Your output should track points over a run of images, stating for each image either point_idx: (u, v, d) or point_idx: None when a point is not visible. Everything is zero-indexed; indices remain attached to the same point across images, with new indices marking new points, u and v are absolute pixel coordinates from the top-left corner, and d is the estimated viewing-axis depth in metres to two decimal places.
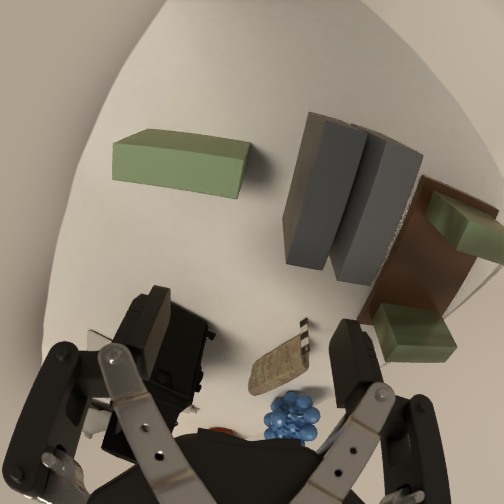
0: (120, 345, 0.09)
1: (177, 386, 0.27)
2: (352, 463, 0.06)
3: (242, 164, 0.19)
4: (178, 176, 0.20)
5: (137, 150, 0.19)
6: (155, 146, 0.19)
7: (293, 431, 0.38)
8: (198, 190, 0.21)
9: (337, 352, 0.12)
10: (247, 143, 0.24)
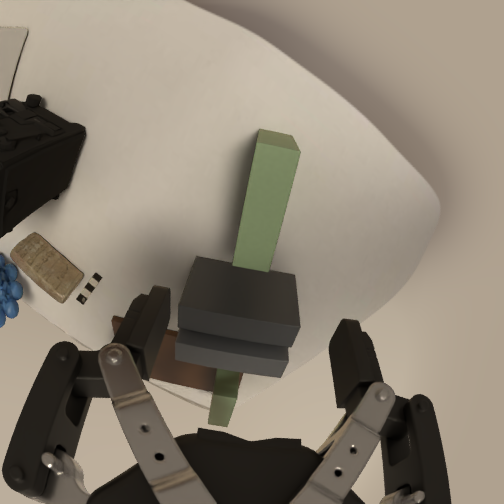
0: (120, 345, 0.09)
1: (7, 219, 0.17)
2: (352, 463, 0.06)
3: (264, 271, 0.24)
4: (255, 218, 0.21)
5: (287, 179, 0.19)
6: (288, 197, 0.20)
7: None
8: (240, 235, 0.22)
9: (337, 352, 0.12)
10: None
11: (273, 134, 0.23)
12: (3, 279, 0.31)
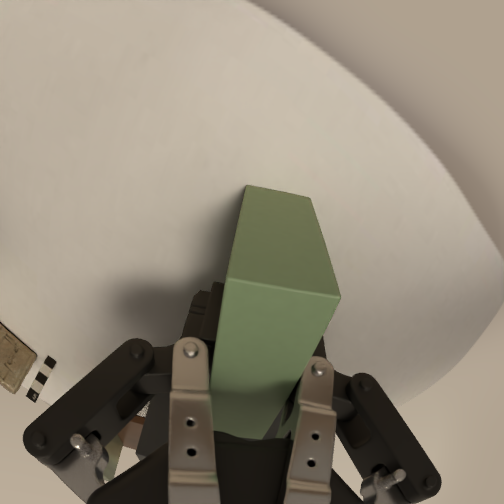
0: (194, 339, 0.10)
1: None
2: (320, 449, 0.06)
3: (255, 438, 0.12)
4: (234, 396, 0.10)
5: (303, 348, 0.08)
6: None
7: None
8: None
9: None
10: None
11: (273, 205, 0.11)
12: None
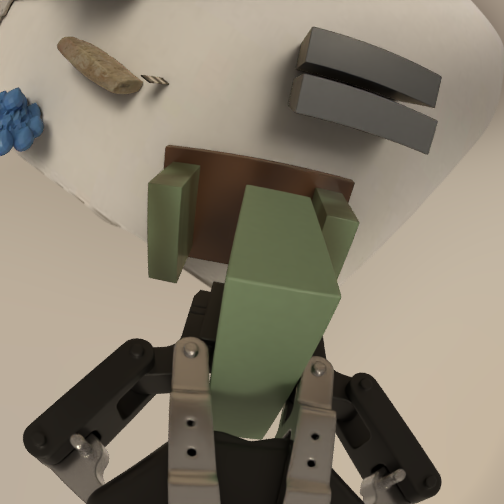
0: (195, 339, 0.10)
1: None
2: (320, 449, 0.06)
3: (255, 438, 0.12)
4: (234, 396, 0.10)
5: (303, 348, 0.08)
6: None
7: None
8: None
9: None
10: None
11: (273, 205, 0.11)
12: (23, 109, 0.22)
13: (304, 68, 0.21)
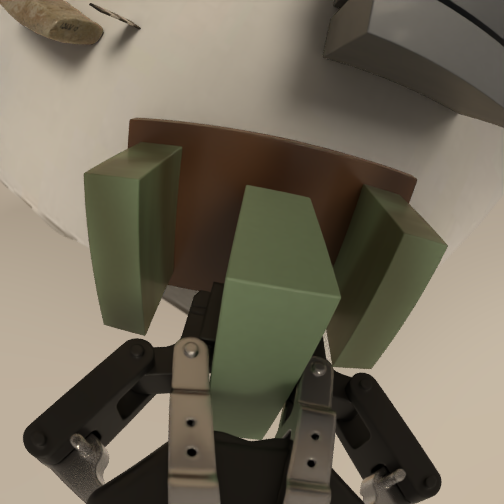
0: (195, 339, 0.10)
1: None
2: (320, 449, 0.06)
3: (255, 438, 0.12)
4: (234, 396, 0.10)
5: (303, 349, 0.08)
6: None
7: None
8: None
9: None
10: None
11: (273, 205, 0.11)
12: None
13: None
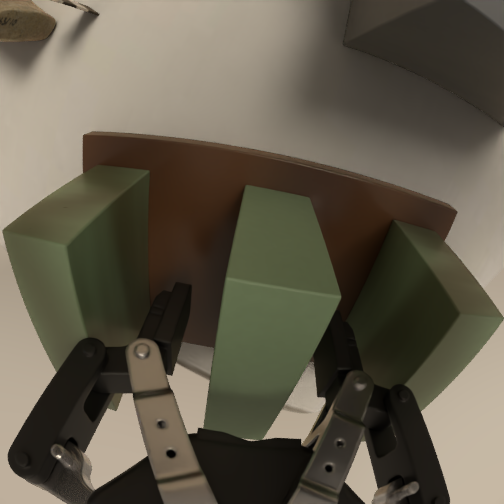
0: (147, 340, 0.09)
1: None
2: (341, 456, 0.06)
3: (255, 439, 0.12)
4: (234, 396, 0.10)
5: (303, 349, 0.08)
6: None
7: None
8: (209, 410, 0.11)
9: None
10: None
11: (272, 205, 0.11)
12: None
13: None
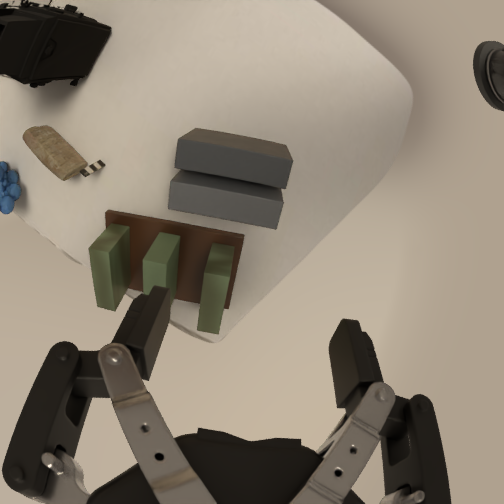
0: (120, 345, 0.09)
1: (40, 65, 0.17)
2: (352, 463, 0.06)
3: None
4: None
5: (162, 278, 0.34)
6: (166, 286, 0.35)
7: None
8: None
9: (337, 352, 0.12)
10: (175, 293, 0.43)
11: (164, 240, 0.37)
12: (4, 178, 0.30)
13: None
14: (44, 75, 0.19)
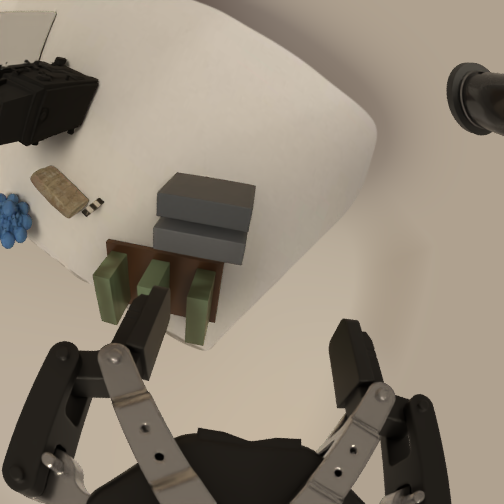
0: (120, 345, 0.09)
1: (38, 129, 0.24)
2: (352, 463, 0.06)
3: None
4: None
5: None
6: None
7: (3, 226, 0.34)
8: None
9: (337, 352, 0.12)
10: None
11: (155, 267, 0.43)
12: (16, 211, 0.37)
13: None
14: (42, 136, 0.26)
